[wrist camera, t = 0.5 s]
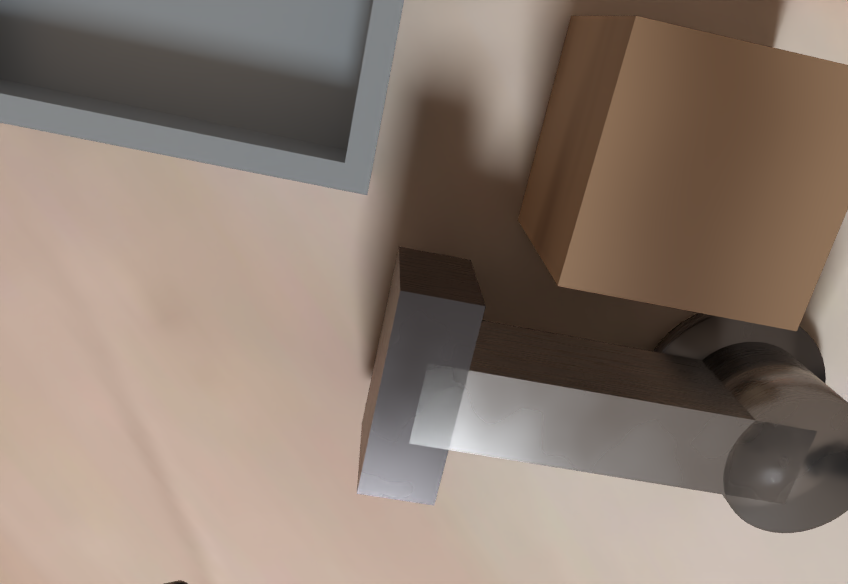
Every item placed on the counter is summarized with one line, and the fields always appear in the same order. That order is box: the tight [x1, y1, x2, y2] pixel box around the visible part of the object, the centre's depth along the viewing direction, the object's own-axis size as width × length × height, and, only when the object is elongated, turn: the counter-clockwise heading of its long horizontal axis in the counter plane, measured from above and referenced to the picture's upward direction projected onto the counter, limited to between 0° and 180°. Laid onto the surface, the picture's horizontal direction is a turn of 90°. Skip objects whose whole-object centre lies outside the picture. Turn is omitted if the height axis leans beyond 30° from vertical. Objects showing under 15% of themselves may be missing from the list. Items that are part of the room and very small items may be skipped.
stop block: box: [518, 16, 848, 331], centre depth 16 cm, size 5×5×5 cm
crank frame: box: [653, 313, 826, 383], centre depth 19 cm, size 5×14×1 cm, turn 168°
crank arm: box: [357, 247, 848, 533], centre depth 18 cm, size 12×5×3 cm, turn 78°
